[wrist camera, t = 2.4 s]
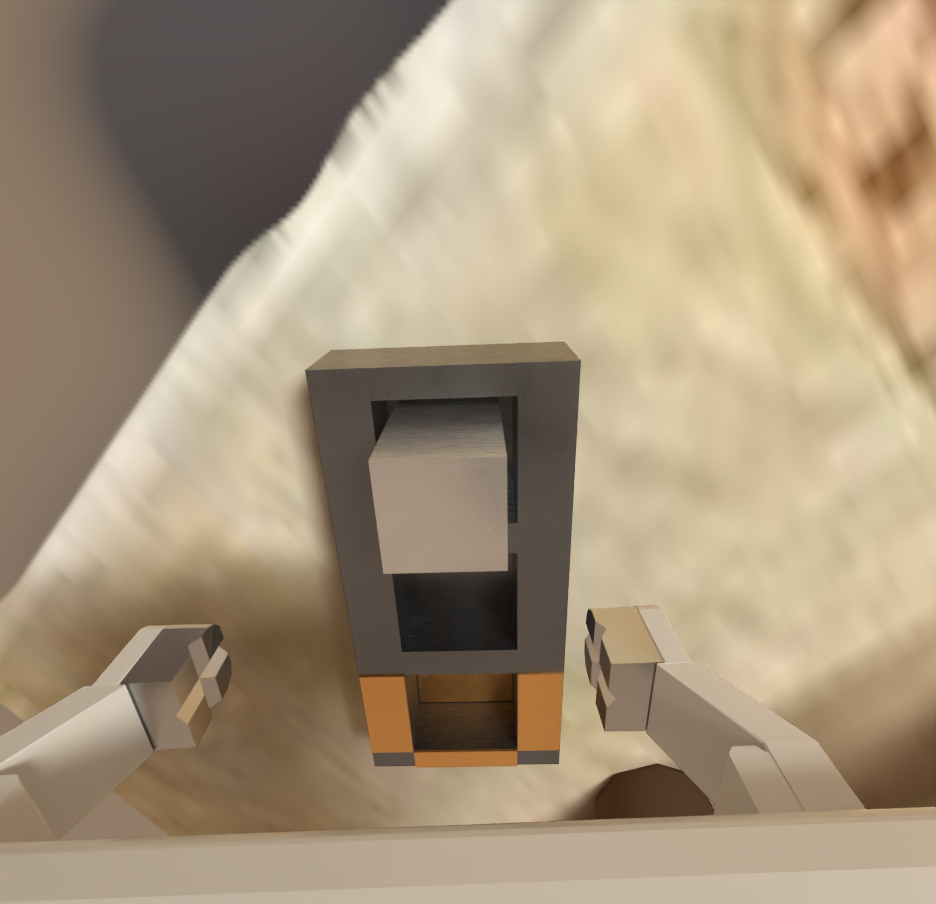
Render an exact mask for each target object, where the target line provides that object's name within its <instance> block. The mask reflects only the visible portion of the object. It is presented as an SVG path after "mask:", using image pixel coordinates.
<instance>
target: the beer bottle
mask: <svg viewBox="0 0 936 904" xmlns="http://www.w3.org/2000/svg"><path fill="white" fill-rule="evenodd" d="M595 808H596V815H597V820H601V819H627V818H654V817H680V816H706V815H713V814H714V809H713V807H712V805H711V803H710V801H709V799H708V797H707V796H706V795H705V794H704V793H703V791H702V790H701V789H700V788H699V787H698V786H697V785H696V784H695V783H694V782H693V781H692V780H691V779H690V778H689V777H688V776H687V775H686V774H685V773H684V772H683V771H680V770H677V769H674V768H670V767H667V766H664V765H660V764H655V765H651V766H646V767H642V768H638V769H634V770H630V771H626V772H622V773H618V774H616V775H615V776H614V777H613V779H612V780H611V781H610V782H609V783H608V785H607V786H606V787H605V788H604V790H603V791H602V792H601V793H600V794H599V796H598V797H597V798H596V802H595Z"/></svg>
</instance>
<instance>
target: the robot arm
mask: <svg viewBox="0 0 936 904" xmlns="http://www.w3.org/2000/svg"><path fill="white" fill-rule="evenodd" d="M586 624H587V628H588V631H589V635H588V636H587V638H586V639H585V663H586V669H587V674H588V678H589V681H590V685H592V686H593V687H594V688H595V689H596V690H597V694H596V705H597V708H598V711H599V715H600V718H601V721H602V725H603V728H604V731H647V734H648V735H649V736H650V737H651V738H652V739H653V740H654V741H655V743H656V744H657V745H658V746H659V747H660V748H661V749H662V750H663V751H664V752H665V753H666V754H667V755H668V756H669V757H670V758H671V759H672V760H673V761H674V762H675V763H676V764H677V765H678V766H679V768H680V769H681V770H682V771H683V772H684V773H685V774H686V775H687V776H688V777H689V778H690V779H691V780H692V781H693V782H694V783H695V784H696V785H697V786H698V787H699V788H700V789H701V790H702V791H703V793H704V794H705V795H706V796H707V797H708V798H709V799H710V800H711V801H712V802H713V803H714V804H715V805H716V806H715V810H714V814H713V815H706V816H680V817H654V818H627V819H601V820H575V821H549V822H524V823H499V824H474V825H449V826H423V827H397V828H371V829H345V830H318V831H292V832H265V833H239V834H213V835H187V836H163V837H137V838H136V837H135V838H110V839H84V840H61V841H60V840H59V839H60V838H61V837H62V836H63V835H64V834H65V833H67V832H68V831H69V830H70V829H71V828H72V827H73V826H74V825H75V824H77V823H78V822H79V821H80V820H81V819H82V818H83V817H84V816H85V815H86V814H87V813H88V812H90V811H91V810H92V809H93V808H94V807H95V806H96V805H97V804H98V803H100V802H101V801H102V800H103V799H104V798H105V797H106V796H107V795H108V794H109V793H111V792H112V791H113V790H114V789H115V788H116V787H117V786H118V785H119V784H120V783H122V782H123V781H124V780H125V779H126V778H127V777H128V776H129V775H130V774H131V773H133V772H134V771H135V770H136V769H137V768H138V767H139V766H140V765H141V764H142V763H143V762H145V761H146V760H147V759H148V758H149V757H150V756H151V755H152V754H153V753H154V750H166V749H180V748H195V747H197V745H198V743H199V741H200V740H201V738H202V736H203V734H204V732H205V730H206V728H207V727H208V725H209V723H210V721H211V719H212V715H211V712H210V708H211V707H213V706H214V705H215V704H217V703H218V702H219V701H220V700H222V698H223V696H224V694H225V692H226V690H227V688H228V685H229V681H230V677H231V661H230V657H229V654H228V653H227V652H226V651H225V650H224V649H222V648H221V647H220V646H219V645H220V643H221V641H222V640H223V635H222V632H221V629H220V626H217V625H215V624H188V625H154V626H146V627H144V628H142V629H140V630H139V631H138V632H137V633H136V635H135V636H134V637H133V638H132V639H131V640H130V642H129V643H128V644H127V645H126V646H125V647H124V649H123V650H122V651H121V652H120V653H119V654H118V656H117V657H116V658H115V659H114V660H113V662H112V663H111V664H110V665H109V666H108V667H107V669H106V670H105V671H104V672H103V673H102V674H101V676H100V677H99V678H98V679H97V680H96V681H95V683H94V684H93V685H92V686H84V687H82V688H80V689H79V690H77V691H75V692H74V693H72V694H70V695H69V696H67V697H65V698H64V699H62V700H60V701H59V702H57V703H55V704H54V705H52V706H50V707H49V708H47V709H45V710H44V711H42V712H40V713H39V714H37V715H35V716H34V717H32V718H30V719H29V720H27V721H25V722H24V723H22V724H20V725H19V726H17V727H15V728H14V729H12V730H10V731H9V732H7V733H5V734H4V735H2V736H0V904H936V807H915V808H890V809H865V807H864V806H863V804H862V803H861V802H860V800H859V799H858V798H857V796H856V795H855V793H854V792H853V791H852V789H851V788H850V786H849V785H848V784H847V782H846V781H845V780H844V778H843V777H842V775H841V774H840V773H839V771H838V770H837V768H836V767H835V766H834V764H833V763H832V761H831V760H830V759H829V757H828V756H827V755H826V753H825V752H824V750H823V749H822V748H821V746H820V745H819V743H818V742H817V741H816V740H814V739H813V738H811V737H810V736H808V735H807V734H805V733H804V732H802V731H801V730H799V729H798V728H796V727H795V726H793V725H792V724H790V723H789V722H787V721H786V720H784V719H783V718H781V717H780V716H778V715H777V714H775V713H774V712H772V711H771V710H769V709H768V708H766V707H765V706H763V705H762V704H760V703H759V702H757V701H756V700H754V699H753V698H752V697H750V696H749V695H747V694H746V693H744V692H743V691H741V690H740V689H738V688H737V687H735V686H734V685H732V684H731V683H729V682H728V681H726V680H725V679H723V678H722V677H720V676H719V675H717V674H716V673H714V672H713V671H711V670H710V669H708V668H707V667H705V666H704V665H702V664H701V663H699V662H691V661H690V659H689V657H688V655H687V654H686V652H685V650H684V648H683V646H682V645H681V643H680V641H679V639H678V638H677V636H676V634H675V632H674V631H673V629H672V627H671V625H670V623H669V622H668V620H667V618H666V616H665V615H664V613H663V611H662V609H661V608H660V607H659V606H657V605H648V606H634V607H619V608H598V609H588V612H587V619H586Z"/></svg>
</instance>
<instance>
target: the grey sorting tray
mask: <svg viewBox="0 0 936 904" xmlns="http://www.w3.org/2000/svg"><path fill="white" fill-rule="evenodd" d="M580 365H581V360H580V359H579V358H578V357H577V356H576V354H575V353H574V352H573V351H572V350H571V349H570V348H569V347H568V345H567V344H566V343H565V342H545V343H517V344H490V345H463V346H436V347H408V348H381V349H354V350H331V351H330V352H328V353H327V354H326V355H324V356H323V357H322V358H321V359H319V360H318V361H317V362H315V363H314V364H313V365H311V366H310V367H309V368H307V369H306V370H305V372H306V378H307V384H308V389H309V395H310V401H311V406H312V412H313V418H314V423H315V429H316V435H317V440H318V446H319V452H320V457H321V463H322V469H323V474H324V480H325V486H326V491H327V497H328V503H329V508H330V514H331V520H332V525H333V531H334V537H335V542H336V548H337V554H338V559H339V565H340V571H341V576H342V582H343V588H344V593H345V599H346V605H347V610H348V616H349V622H350V628H351V633H352V639H353V645H354V650H355V656H356V662H357V667H358V673H359V680H360V686H361V691H362V697H363V703H364V708H365V714H366V720H367V725H368V731H369V737H370V742H371V748H372V753H373V758H374V764H375V766H416V767H481V766H517V765H518V764H559V751H560V733H561V715H562V696H563V678H564V659H565V641H566V623H567V604H568V586H569V567H570V549H571V530H572V512H573V494H574V475H575V457H576V438H577V420H578V402H579V383H580ZM474 397H498V399H499V406H500V413H501V420H502V426H503V433H504V440H505V446H506V453H507V520H508V571H480V572H438V573H396V574H383V567H382V560H381V552H380V545H379V537H378V530H377V522H376V515H375V507H374V500H373V492H372V485H371V477H370V470H369V462H368V460H369V458H370V456H371V454H372V452H373V450H374V448H375V446H376V444H377V442H378V440H379V438H380V436H381V434H382V432H383V429H384V427H385V425H386V423H387V421H388V419H389V417H390V415H391V413H392V411H393V409H394V407H395V405H396V403H397V401H398V400H414V399H444V398H474Z"/></svg>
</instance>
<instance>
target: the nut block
mask: <svg viewBox="0 0 936 904" xmlns="http://www.w3.org/2000/svg"><path fill="white" fill-rule="evenodd" d="M368 462H369V470H370V477H371V485H372V492H373V500H374V507H375V515H376V522H377V530H378V537H379V545H380V552H381V560H382V567H383V574H396V573H438V572H480V571H508V520H507V453H506V446H505V440H504V433H503V426H502V420H501V413H500V406H499V399H498V397H474V398H444V399H414V400H398V401H397V403H396V405H395V407H394V409H393V411H392V413H391V415H390V417H389V419H388V421H387V423H386V425H385V427H384V429H383V432H382V434H381V436H380V438H379V440H378V442H377V444H376V446H375V448H374V450H373V452H372V454H371V456H370V458H369V460H368Z"/></svg>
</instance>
